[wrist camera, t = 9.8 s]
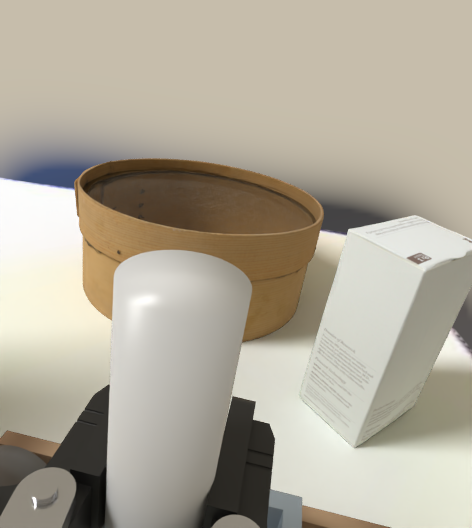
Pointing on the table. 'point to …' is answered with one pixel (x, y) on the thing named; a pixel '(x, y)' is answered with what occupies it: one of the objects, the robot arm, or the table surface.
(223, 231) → the steamer basket
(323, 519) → the bay
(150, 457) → the tray with upright post
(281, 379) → the table surface
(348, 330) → the skincare box
